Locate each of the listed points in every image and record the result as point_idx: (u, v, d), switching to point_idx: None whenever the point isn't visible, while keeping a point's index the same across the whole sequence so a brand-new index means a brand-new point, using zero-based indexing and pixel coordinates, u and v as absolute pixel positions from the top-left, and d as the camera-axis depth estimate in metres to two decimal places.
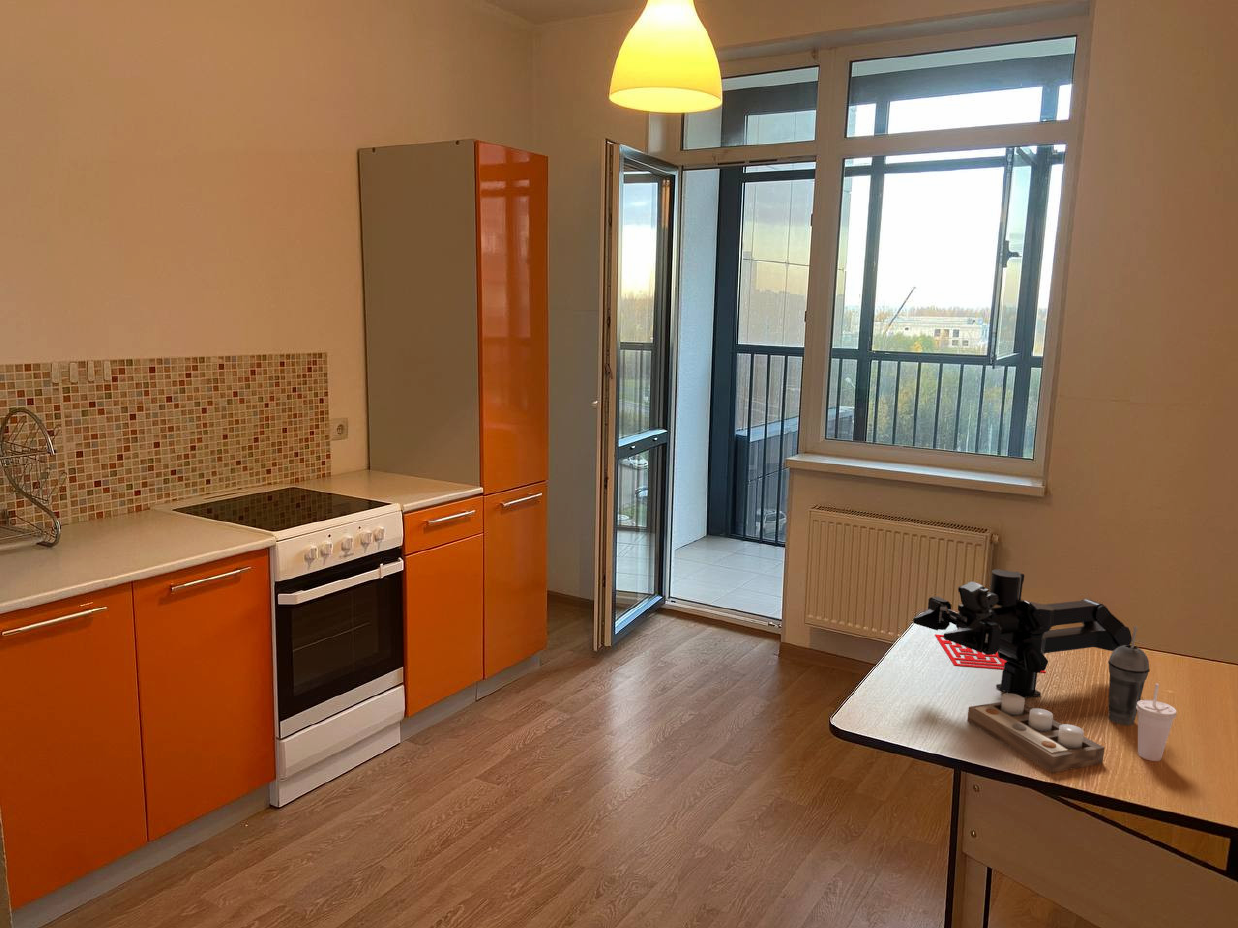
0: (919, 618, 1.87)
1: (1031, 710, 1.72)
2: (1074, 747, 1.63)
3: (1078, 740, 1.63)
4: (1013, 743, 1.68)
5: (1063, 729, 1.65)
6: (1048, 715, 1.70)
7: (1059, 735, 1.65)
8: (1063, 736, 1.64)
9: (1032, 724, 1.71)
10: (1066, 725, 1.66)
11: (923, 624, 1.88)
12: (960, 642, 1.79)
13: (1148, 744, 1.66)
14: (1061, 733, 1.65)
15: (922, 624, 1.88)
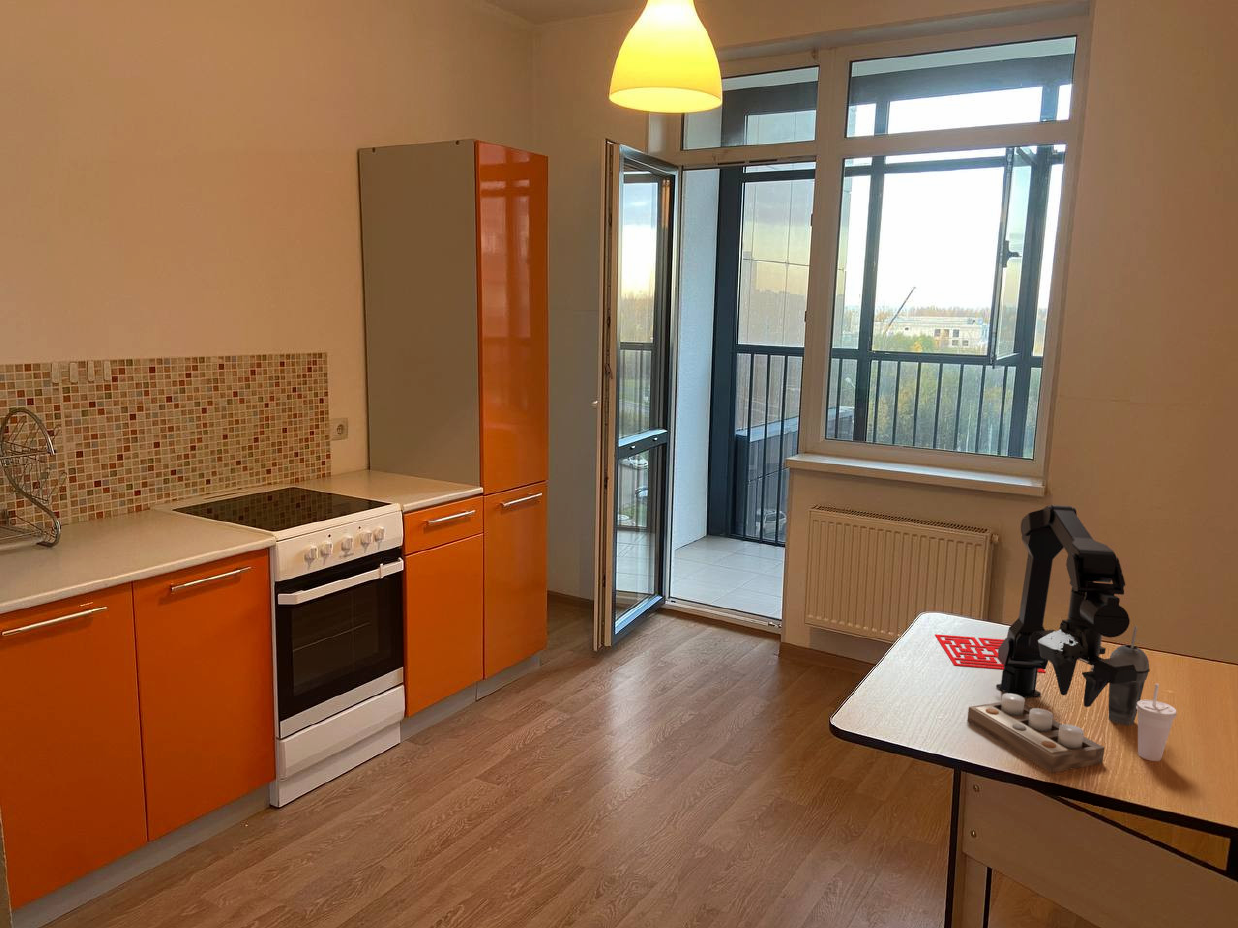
0: (1063, 689, 1.66)
1: (1031, 710, 1.72)
2: (1074, 747, 1.63)
3: (1078, 740, 1.63)
4: (1013, 743, 1.68)
5: (1063, 729, 1.65)
6: (1048, 715, 1.70)
7: (1059, 735, 1.65)
8: (1063, 736, 1.64)
9: (1032, 724, 1.71)
10: (1066, 725, 1.66)
11: (1069, 681, 1.66)
12: (1099, 691, 1.60)
13: (1148, 744, 1.66)
14: (1061, 733, 1.65)
15: (1069, 682, 1.66)
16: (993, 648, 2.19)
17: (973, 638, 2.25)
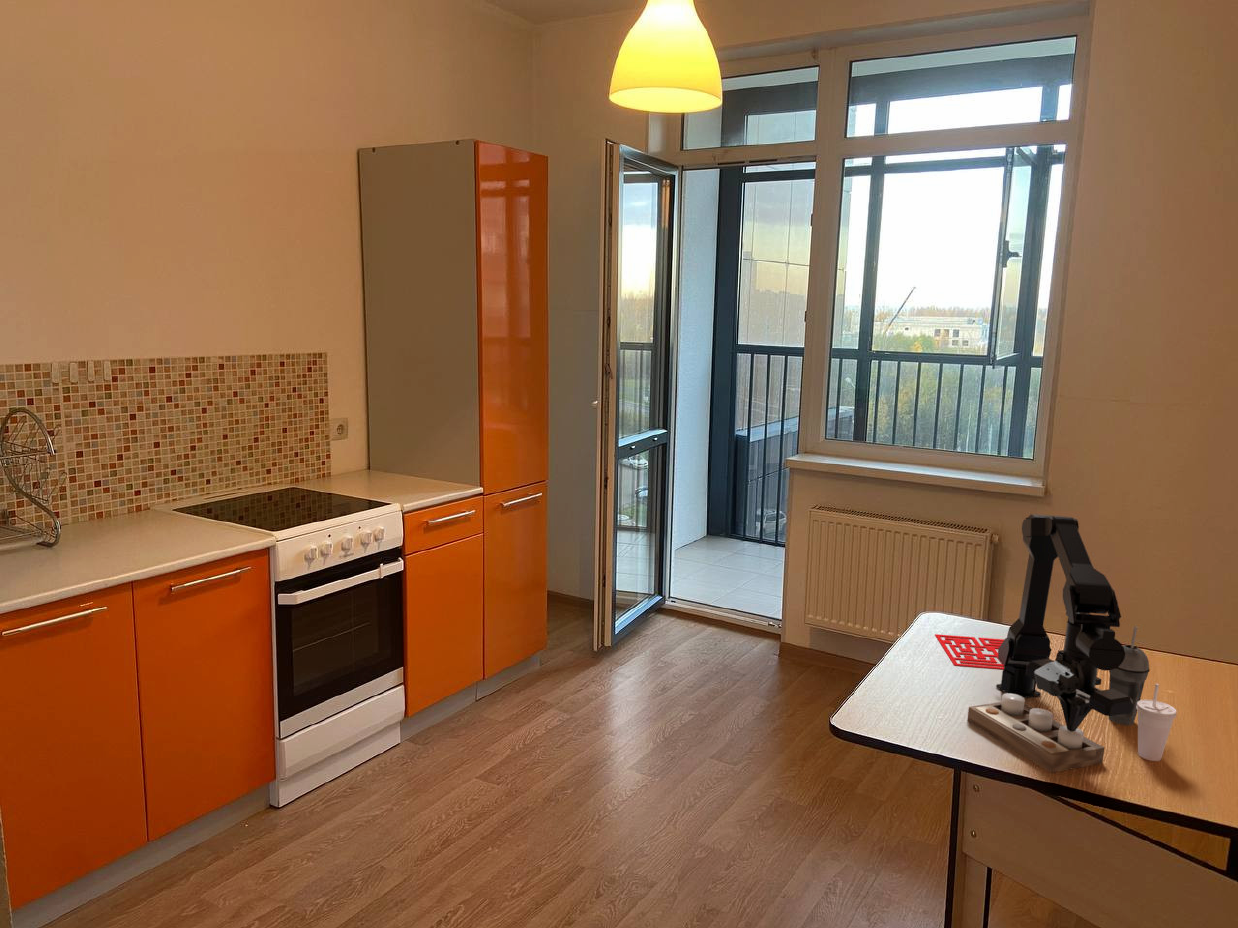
0: None
1: (1031, 710, 1.72)
2: (1074, 748, 1.63)
3: (1078, 742, 1.63)
4: (1013, 743, 1.68)
5: (1063, 730, 1.65)
6: (1048, 715, 1.70)
7: (1059, 736, 1.65)
8: (1062, 737, 1.64)
9: (1032, 724, 1.71)
10: (1066, 726, 1.66)
11: None
12: (1084, 716, 1.64)
13: (1148, 744, 1.66)
14: (1061, 734, 1.65)
15: None
16: (993, 648, 2.19)
17: (973, 638, 2.25)
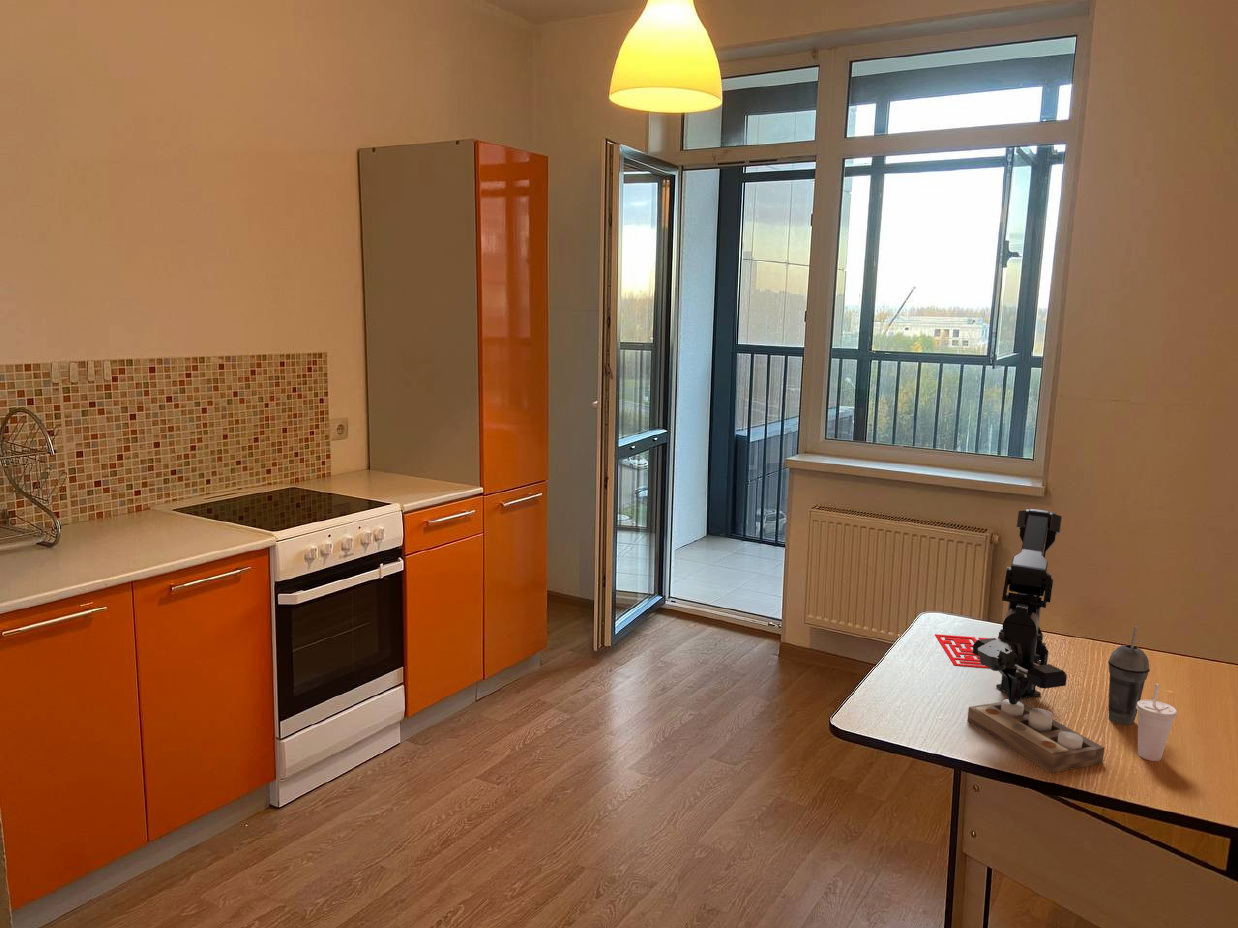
0: None
1: (1031, 710, 1.72)
2: None
3: (1077, 748, 1.63)
4: (1013, 743, 1.68)
5: (1062, 736, 1.65)
6: (1048, 715, 1.70)
7: (1058, 742, 1.65)
8: (1062, 743, 1.64)
9: (1032, 724, 1.71)
10: (1065, 732, 1.67)
11: None
12: (1024, 690, 1.77)
13: (1148, 744, 1.66)
14: (1060, 740, 1.65)
15: None
16: None
17: (973, 638, 2.25)
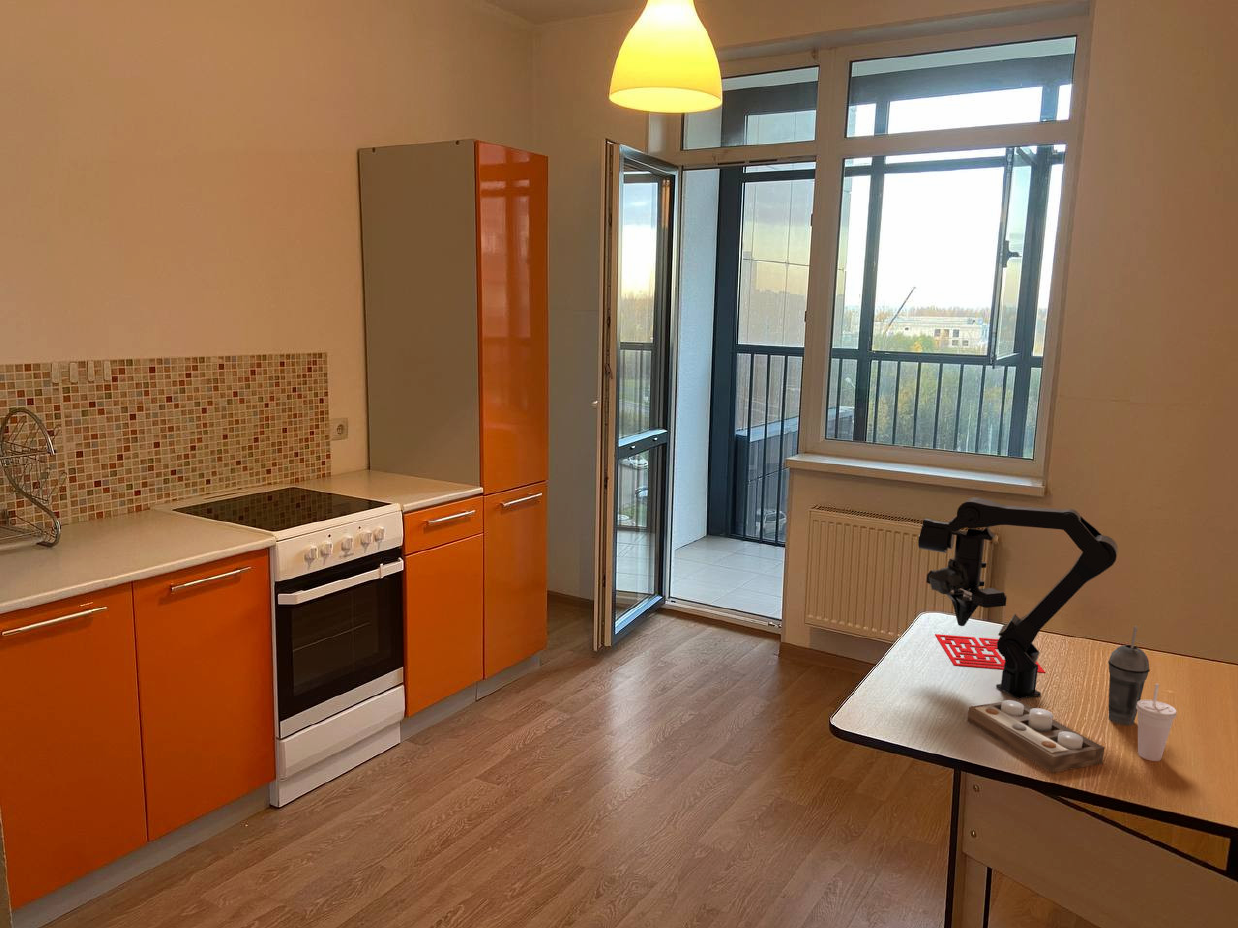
0: None
1: (1031, 710, 1.72)
2: None
3: (1077, 748, 1.63)
4: (1013, 743, 1.68)
5: (1062, 736, 1.65)
6: (1048, 715, 1.70)
7: (1058, 742, 1.65)
8: (1062, 743, 1.64)
9: (1032, 724, 1.71)
10: (1065, 732, 1.67)
11: None
12: (971, 613, 1.97)
13: (1148, 744, 1.66)
14: (1060, 740, 1.65)
15: None
16: (993, 648, 2.19)
17: (973, 638, 2.25)
